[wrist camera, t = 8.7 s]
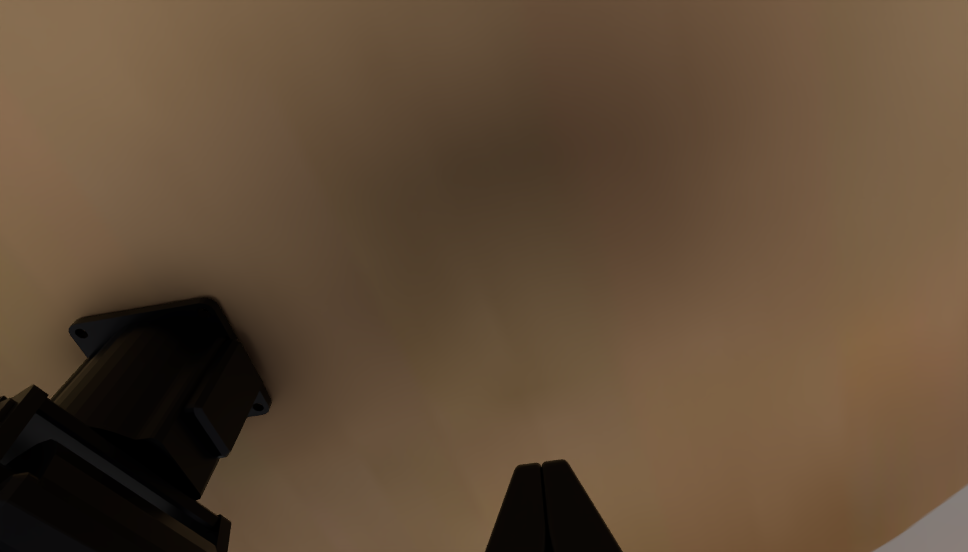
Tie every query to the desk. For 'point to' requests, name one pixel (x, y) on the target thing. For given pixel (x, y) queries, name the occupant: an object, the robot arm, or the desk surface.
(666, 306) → the desk surface
